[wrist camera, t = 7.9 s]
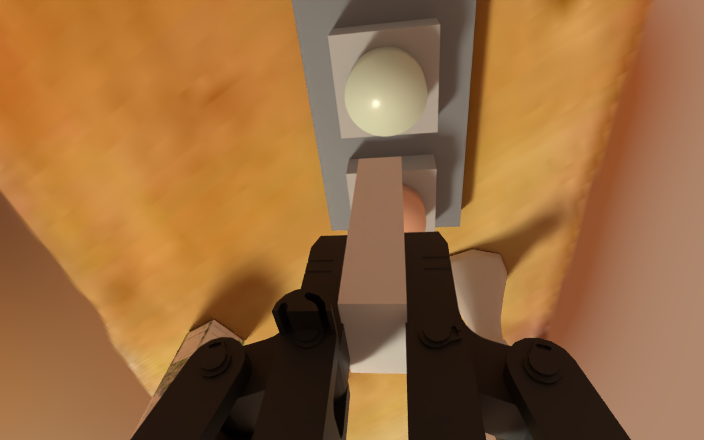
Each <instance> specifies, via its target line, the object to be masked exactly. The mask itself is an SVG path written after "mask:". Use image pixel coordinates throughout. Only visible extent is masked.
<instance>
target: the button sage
mask: <svg viewBox="0 0 704 440" xmlns="http://www.w3.org/2000/svg"><path fill="white" fill-rule="evenodd" d="M427 96H428V93H427V85H426V81H425V77H424V73H423V70H422V68H421V66H420V64H419V63H418V61H417V60H416V59H415V58H414V57H413V56H412V55H411V54H410V53H408V52H407V51H405V50H403V49H400V48H397V47H391V46H383V47H378V48H375V49H372V50H370V51H368V52H366V53H365V54H363V55H362V56H361V57H360V58H359V59H358V60H357V61H356V63H355V64H354V66H353V67H352V69H351V71H350V74H349V77H348V80H347V84H346V88H345V105H346V109H347V111H348V114H349V116H350V117H351V119H352V120H353V122H354V123H355V124H356V125H357V126H358V127H359V128H361V129H362V130H364V131H365V132H367V133H370V134H372V135H376V136H394V135H398V134H400V133H403V132H405V131H407V130H408V129H410V128H411V127H412V126H413V125H414V124H416V122H417V121H418V120H419V119H420V117H421V116H422V114H423V112H424V110H425V107H426V103H427Z"/></svg>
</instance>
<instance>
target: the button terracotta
mask: <svg viewBox="0 0 704 440" xmlns="http://www.w3.org/2000/svg"><path fill="white" fill-rule="evenodd" d="M402 189H403V216H404V233H405V232H425V229H426V215H425V207H424V202H423V200H422V198H421V196H420V195H419V194H418V192H416V191H415V190H414V189H413V188H411V187H409V186H407V185H404V184H402Z"/></svg>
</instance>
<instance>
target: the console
mask: <svg viewBox="0 0 704 440" xmlns="http://www.w3.org/2000/svg"><path fill="white" fill-rule="evenodd" d="M292 5H293V10H294V16H295V22H296V28H297V33H298V39H299V45H300V50H301V56H302V62H303V68H304V73H305V79H306V85H307V91H308V96H309V102H310V108H311V114H312V119H313V125H314V131H315V136H316V142H317V148H318V154H319V159H320V165H321V171H322V177H323V182H324V188H325V194H326V200H327V205H328V211H329V217H330V222H331V228H332V231H336V230H348V229H349V222H350V215H351V209H352V202H353V195H354V188H355V181H356V174H357V168H358V161H359V159H365V158H383V157H400V156H401V161H402V184H404V185H407V186H409V187H411V188H413V189H414V190H415V191H416V192H418V194H419V195H420V196H421V198H422V200H423V202H424V207H425V215H426V229H425V232H435V227H456V226H460V217H461V203H462V190H463V176H464V163H465V149H466V136H467V122H468V109H469V95H470V81H471V68H472V54H473V41H474V27H475V14H476V0H292ZM383 46H391V47H397V48H400V49H403V50H405V51H407V52H408V53H410V54H411V55H412V56H413V57H414V58H415V59H416V60H417V61H418V63H419V64H420V66H421V68H422V70H423V73H424V77H425V81H426V85H427V93H428V96H427V103H426V107H425V110H424V112H423V114H422V116H421V117H420V119H419V120H418V121H417V122H416V124H414V125H413V126H412V127H411V128H410V129H408V130H407V131H405V132H403V133H400V134H398V135H394V136H376V135H372V134H370V133H367V132H365V131H364V130H362V129H361V128H359V127H358V126H357V125H356V124H355V123H354V122H353V120H352V119H351V117H350V116H349V114H348V111H347V109H346V105H345V88H346V84H347V80H348V77H349V74H350V71H351V69H352V67H353V66H354V64H355V63H356V61H357V60H358V59H359V58H360V57H361V56H362V55H363V54H365V53H366V52H368V51H370V50H372V49H375V48H378V47H383Z"/></svg>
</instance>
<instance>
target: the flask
mask: <svg viewBox="0 0 704 440" xmlns="http://www.w3.org/2000/svg"><path fill="white" fill-rule="evenodd" d="M450 261H451V267H452V272H453V278H454V284H455V290H456V296H457V302H458V307H459V312H460V313H461V315H462V317H463V318H464V320H465V321H466V323H467V325H468V327H469V328H470V329H471V330H472V331H473V332H474V333H476V334H478V335H479V336H481V337H483V338H486V339H488V340H491V341H494V342H498V343H501V344H505V345H507V343H506V341H505V340H504V339H503V337H502V332H501V311H502V303H503V296H504V290H505V285H506V279H507V271H506V268H505V265H504V263H503V260H502V257H501V255H500V254H496V253H491V252H485V251H480V250H475V249H472V250H469V251H466V252H462V253H459V254H456V255H453V256H450Z"/></svg>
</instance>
